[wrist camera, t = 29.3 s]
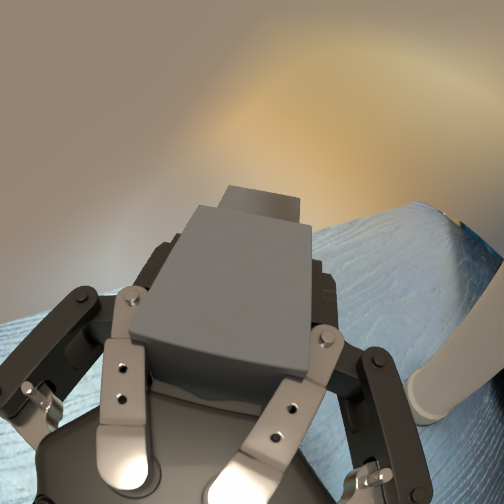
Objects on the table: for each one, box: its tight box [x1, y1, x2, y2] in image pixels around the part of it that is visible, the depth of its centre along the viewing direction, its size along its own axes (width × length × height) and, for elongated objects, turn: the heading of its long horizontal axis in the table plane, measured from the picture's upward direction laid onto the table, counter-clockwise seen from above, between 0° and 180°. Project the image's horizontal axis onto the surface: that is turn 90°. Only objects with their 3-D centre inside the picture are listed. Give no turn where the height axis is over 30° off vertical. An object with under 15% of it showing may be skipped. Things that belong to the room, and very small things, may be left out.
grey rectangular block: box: [128, 205, 312, 411], centre depth 14 cm, size 5×9×10 cm, turn 171°
